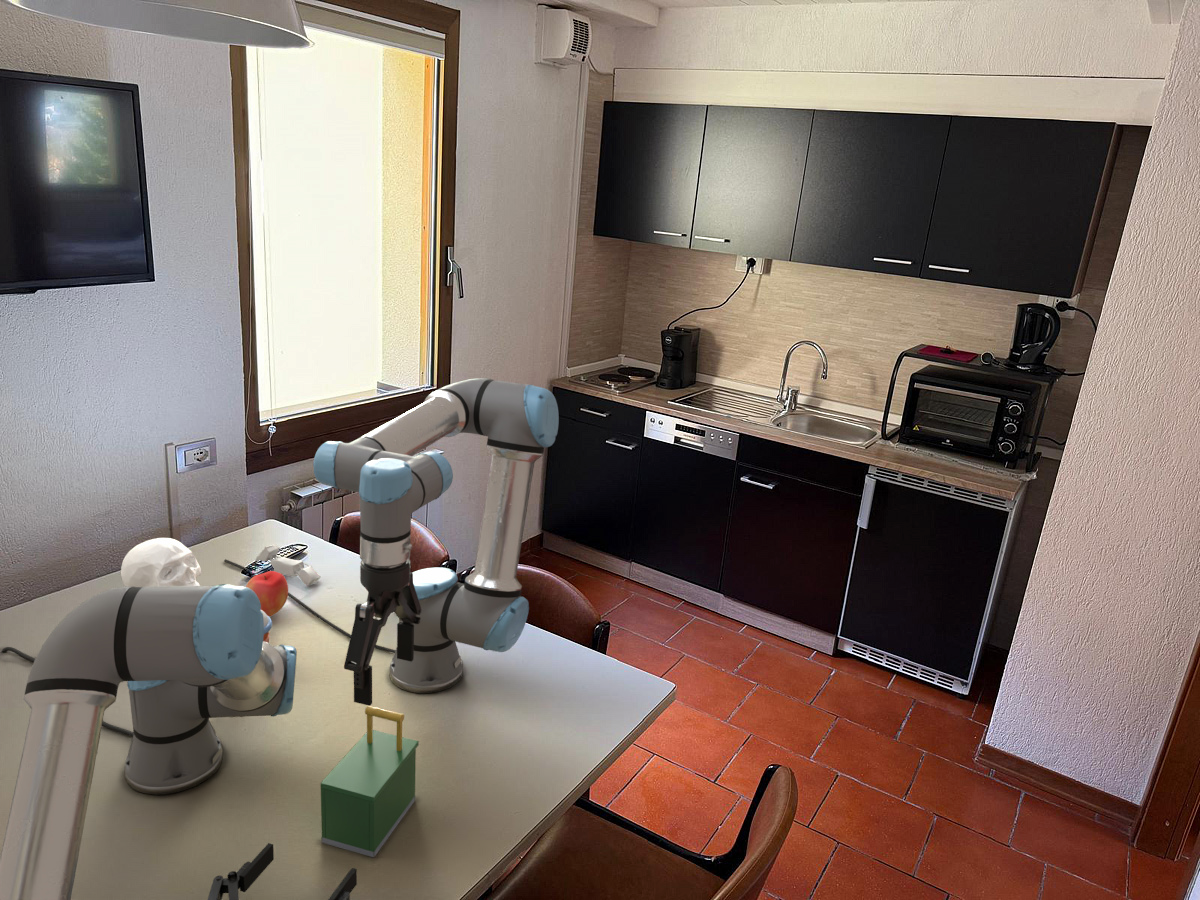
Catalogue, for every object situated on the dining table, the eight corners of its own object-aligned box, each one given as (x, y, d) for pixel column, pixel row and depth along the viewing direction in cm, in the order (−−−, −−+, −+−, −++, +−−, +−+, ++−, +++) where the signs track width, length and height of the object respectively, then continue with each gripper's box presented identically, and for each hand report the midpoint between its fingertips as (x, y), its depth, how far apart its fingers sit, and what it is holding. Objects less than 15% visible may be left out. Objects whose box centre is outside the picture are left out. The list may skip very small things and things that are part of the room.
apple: (273, 600, 207) (272, 562, 204) (297, 613, 202) (296, 575, 199) (237, 614, 200) (234, 575, 197) (261, 628, 194) (259, 588, 191)
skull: (187, 625, 193) (184, 560, 189) (109, 605, 199) (104, 542, 195) (228, 602, 205) (226, 540, 201) (153, 584, 211) (150, 524, 207)
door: (369, 732, 146) (369, 693, 143) (418, 745, 143) (419, 705, 141) (320, 787, 132) (319, 745, 130) (373, 802, 130) (373, 759, 127)
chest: (366, 787, 148) (366, 736, 145) (415, 800, 146) (416, 748, 143) (321, 842, 135) (320, 787, 132) (373, 857, 133) (373, 802, 130)
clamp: (253, 565, 223) (254, 542, 221) (265, 560, 226) (266, 537, 224) (309, 593, 215) (310, 569, 213) (320, 588, 218) (321, 564, 216)
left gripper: (127, 981, 107) (239, 861, 127) (301, 1044, 102) (390, 908, 121) (122, 935, 105) (236, 820, 125) (300, 995, 99) (390, 865, 119)
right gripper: (365, 598, 119) (365, 729, 125) (443, 534, 142) (440, 647, 148) (317, 588, 121) (320, 717, 127) (402, 526, 144) (401, 638, 150)
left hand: (312, 863), depth 123 cm, fingers open, 13 cm apart
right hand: (385, 680), depth 138 cm, fingers open, 13 cm apart
